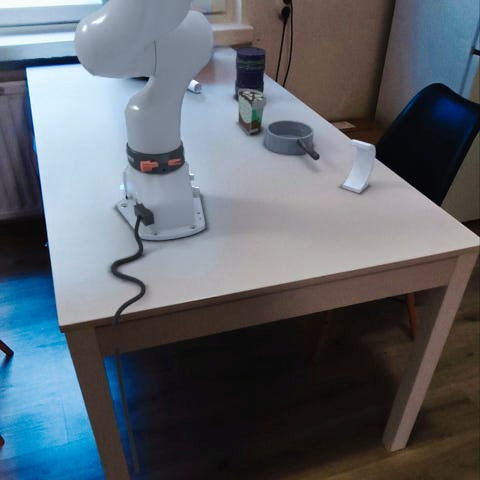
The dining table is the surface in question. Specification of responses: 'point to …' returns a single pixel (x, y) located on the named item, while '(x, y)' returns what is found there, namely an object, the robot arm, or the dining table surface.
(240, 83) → the storage jar
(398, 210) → the dining table surface
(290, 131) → the saucepan
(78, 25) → the robot arm
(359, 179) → the headphone stand
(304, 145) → the saucepan handle
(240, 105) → the food container
